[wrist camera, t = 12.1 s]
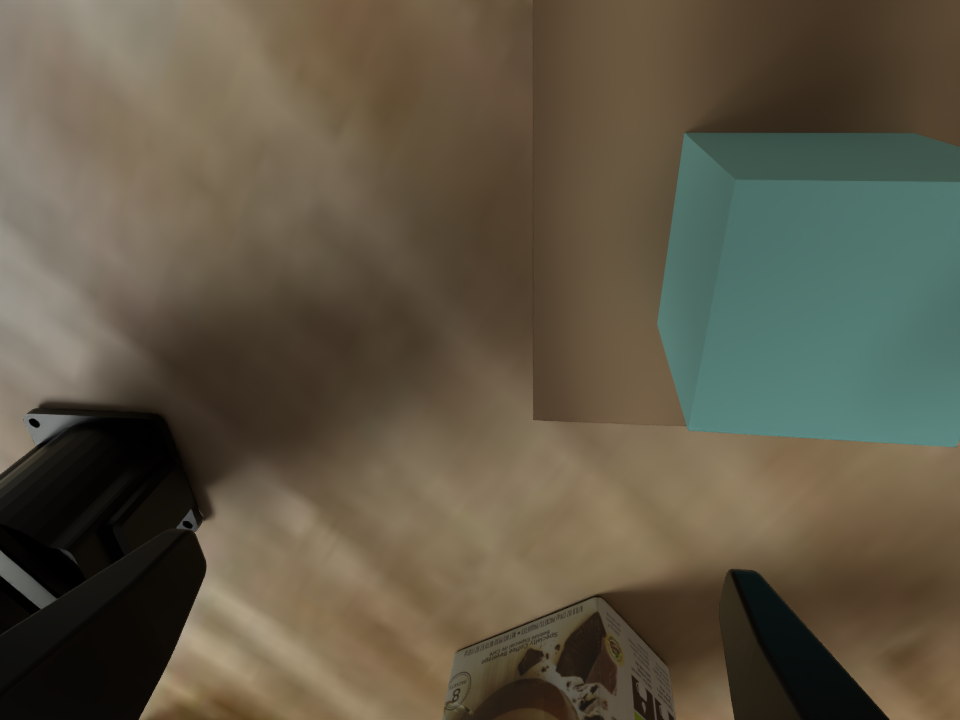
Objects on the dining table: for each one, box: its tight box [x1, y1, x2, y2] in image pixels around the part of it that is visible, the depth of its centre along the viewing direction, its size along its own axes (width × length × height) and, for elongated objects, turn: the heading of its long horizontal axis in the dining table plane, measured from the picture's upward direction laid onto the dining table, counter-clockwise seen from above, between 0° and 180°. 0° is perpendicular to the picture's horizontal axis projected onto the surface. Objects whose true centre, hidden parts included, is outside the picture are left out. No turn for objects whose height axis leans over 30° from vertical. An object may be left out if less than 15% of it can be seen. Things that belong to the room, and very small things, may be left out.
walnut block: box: [533, 0, 960, 426], centre depth 16 cm, size 12×12×4 cm
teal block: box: [657, 133, 960, 447], centre depth 13 cm, size 5×5×5 cm
